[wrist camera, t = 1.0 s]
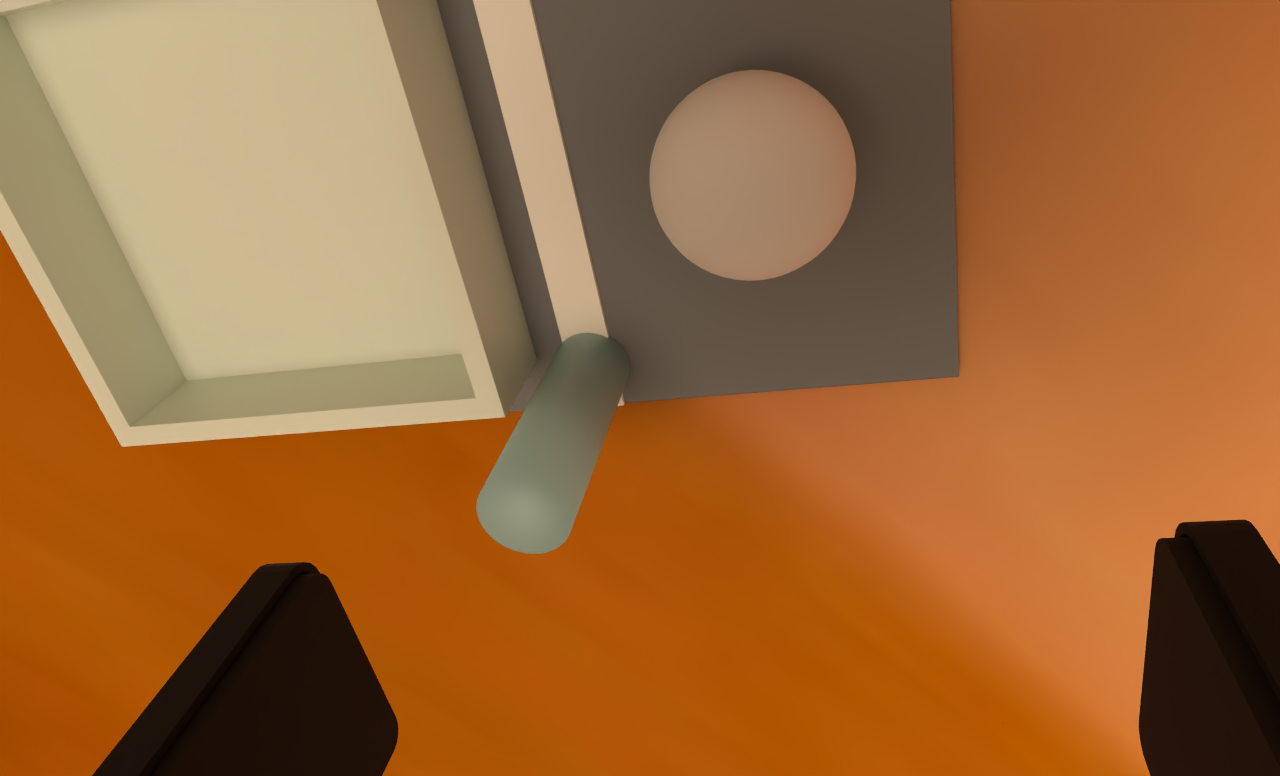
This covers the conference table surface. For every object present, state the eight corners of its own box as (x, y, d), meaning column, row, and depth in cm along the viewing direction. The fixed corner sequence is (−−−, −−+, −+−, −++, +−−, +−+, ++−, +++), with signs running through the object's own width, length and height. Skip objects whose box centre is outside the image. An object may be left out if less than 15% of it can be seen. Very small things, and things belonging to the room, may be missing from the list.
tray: (-18, -9, 25) (-124, 8, 23) (405, -110, 22) (343, -106, 19) (185, 393, 32) (121, 446, 29) (537, 360, 28) (505, 417, 26)
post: (550, 329, 28) (464, 478, 21) (623, 322, 28) (558, 472, 21) (567, 394, 29) (491, 555, 22) (638, 389, 29) (581, 552, 22)
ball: (650, 69, 23) (612, 115, 19) (845, 36, 22) (850, 77, 18) (682, 247, 26) (654, 324, 21) (859, 226, 24) (867, 303, 20)
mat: (-65, -73, 25) (-79, -72, 25) (940, -342, 18) (943, -346, 18) (192, 432, 33) (185, 439, 33) (958, 371, 26) (959, 379, 26)
